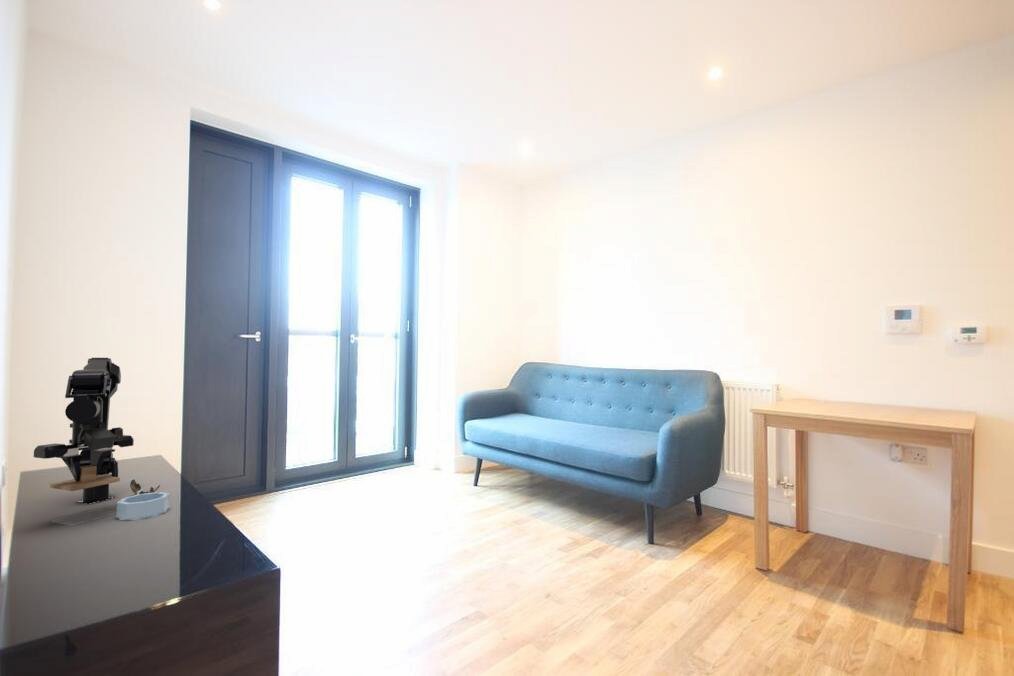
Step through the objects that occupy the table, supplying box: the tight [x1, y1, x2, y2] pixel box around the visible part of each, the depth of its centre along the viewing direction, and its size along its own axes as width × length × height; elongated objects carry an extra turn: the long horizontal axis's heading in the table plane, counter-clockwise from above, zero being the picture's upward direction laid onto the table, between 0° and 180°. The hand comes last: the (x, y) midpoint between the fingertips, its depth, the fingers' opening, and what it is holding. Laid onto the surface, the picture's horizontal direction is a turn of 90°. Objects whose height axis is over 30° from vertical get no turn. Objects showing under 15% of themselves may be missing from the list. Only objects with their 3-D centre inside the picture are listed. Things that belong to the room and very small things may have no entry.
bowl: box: [116, 491, 170, 521], centre depth 120 cm, size 10×10×4 cm
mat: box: [51, 508, 117, 527], centre depth 118 cm, size 10×10×1 cm
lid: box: [49, 465, 121, 492], centre depth 118 cm, size 10×10×4 cm
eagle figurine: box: [127, 478, 161, 497], centre depth 130 cm, size 8×7×9 cm
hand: (85, 479), depth 118 cm, fingers closed on lid, 3 cm apart
